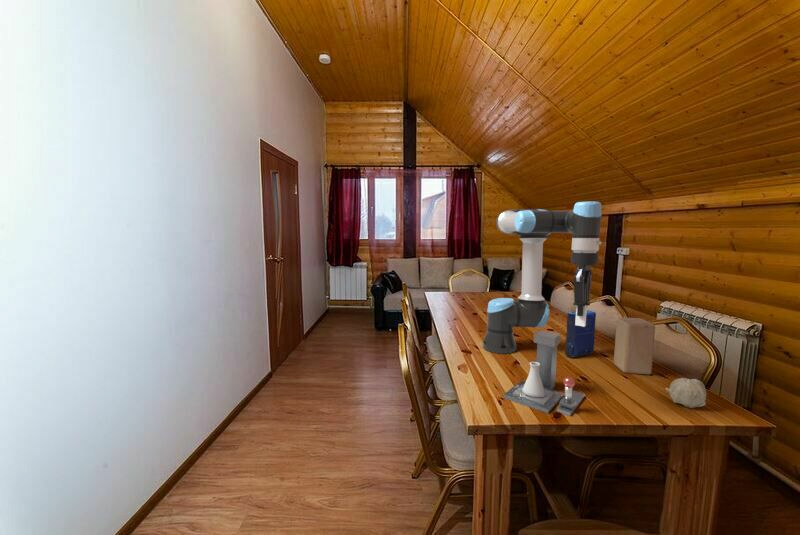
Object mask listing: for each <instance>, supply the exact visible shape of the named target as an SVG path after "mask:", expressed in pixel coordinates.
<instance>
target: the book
mask: <svg viewBox="0 0 800 535" xmlns="http://www.w3.org/2000/svg"><path fill="white" fill-rule="evenodd" d="M596 317H597V312H596V311H592V310H587V313H586V326H585V327H583V326H577V325H575V319H576V311H569V312H567V316H566V333H565V334H566V336H565V338H566V339H565V349H564V350H565V351H564V355H565V356H567V357H568V358H578V357H584V356H587V355H591V354H593V353H594V352H595V338H596V337H595V335H596V334H595V333H596V331H595V330H596Z"/></svg>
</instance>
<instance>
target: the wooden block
mask: <svg viewBox="0 0 800 535" xmlns="http://www.w3.org/2000/svg"><path fill="white" fill-rule="evenodd" d="M655 332H656V325H655V323H653V322H650V321H648V320H646V319H644V318H641V317H637V318H636V317H621V316H620V317H617V318H616V325H615V340H614V350H613V351H614V355H613V364H614V365H615V366H616V367H617V368H618V369H619V370H620V371H622V372H623V373H625V374H637V375H638V374H640V375H651V374H652V370H653V358H654V345H655V334H656V333H655Z"/></svg>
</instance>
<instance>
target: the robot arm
mask: <svg viewBox="0 0 800 535" xmlns="http://www.w3.org/2000/svg"><path fill="white" fill-rule="evenodd" d="M602 215H603V214H602V203H601V202H599V201H592V200H591V201H577V202H576V203H575V204H574V206H573V209H572V210H547V209H541V208H532V209H531V208H527V209H526V208H525V209H523V208H521V209H520V208H513V209H508V210H504V211H501V212H500V213H499V214H498V215H497V216H496V219H495V224H496V225H495V226H496V227H497V229H498V230H499V232H501V233H504V234H507V235H511V236H512V235H515V236H519V240H520V241H521V242H522V256H521V257H522V264H521V265H522V266H521V290H520V291H521V294H520V295H519V296H517V301H515V299H514V298H512V297H511V298H510V297H498V298H493V299H491V300H490V301H489V302H488V305H487V310H486V311H487V318H486V320H487V324H486V325H487V326H486V332H485V335H484V338H483V341H482V348H483V349H484V350H485V351H488V352H491V353H493V354H502V355H503V354H506V355H507V354H512V353H514V352H516V351H517V342H516V340H515V335H514V328H534V329H535V328H543V327H545V326H546V325H547V323H548V321H549V318H550V305H549V304H548V303H547V302H546V301H545V300H546V299H545V297H544V296H543V295H542V288H543V287H542V285H543V284H542V281H543V253H544V251H543V248H544V242H545V241H546V240H547V239H548V238H547V237H548V236H549V235H551V234H553V233H554V234H558V233H559V234H572V238H571V240H572V241H571V251H572V252H571V255H570V263H571V264H572V265H577V267H576V269H575V270H574V271H575V272H574V275H573V283H574V284H573V290H574V291H573V296H574V297H573V298H574V299H573V300H574V302H573V303H572V304H573V306H575V312H576V319H575V325H577V326H583V327H585V326H586V313H587V309H588V306H590V305H591V303H589V302H590V294H591V287H592V279H593V275H594V273H593V270H591V269H592V268H591V266H597V265H598V264H599V253H598V251H599V250H600V245H602V241H601V240H600V237H601V236H600V235H601V226H602V225H601V224H602Z"/></svg>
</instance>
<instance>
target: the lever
mask: <svg viewBox="0 0 800 535" xmlns="http://www.w3.org/2000/svg"><path fill="white" fill-rule="evenodd" d="M562 383H563V385H564V393H563V396H564V397H562V398H561V399H560V400H559V404H558V405H559V406H560V405H561V406H564V407H567V408H570V409H573V407H574V406H575V405H576V401H574V400H572V391H573V387H574V386H575V385H576V384H575V383H576V381H575V380H574V378H572V377H570V376H566V377H564V378H563V380H562Z"/></svg>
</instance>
